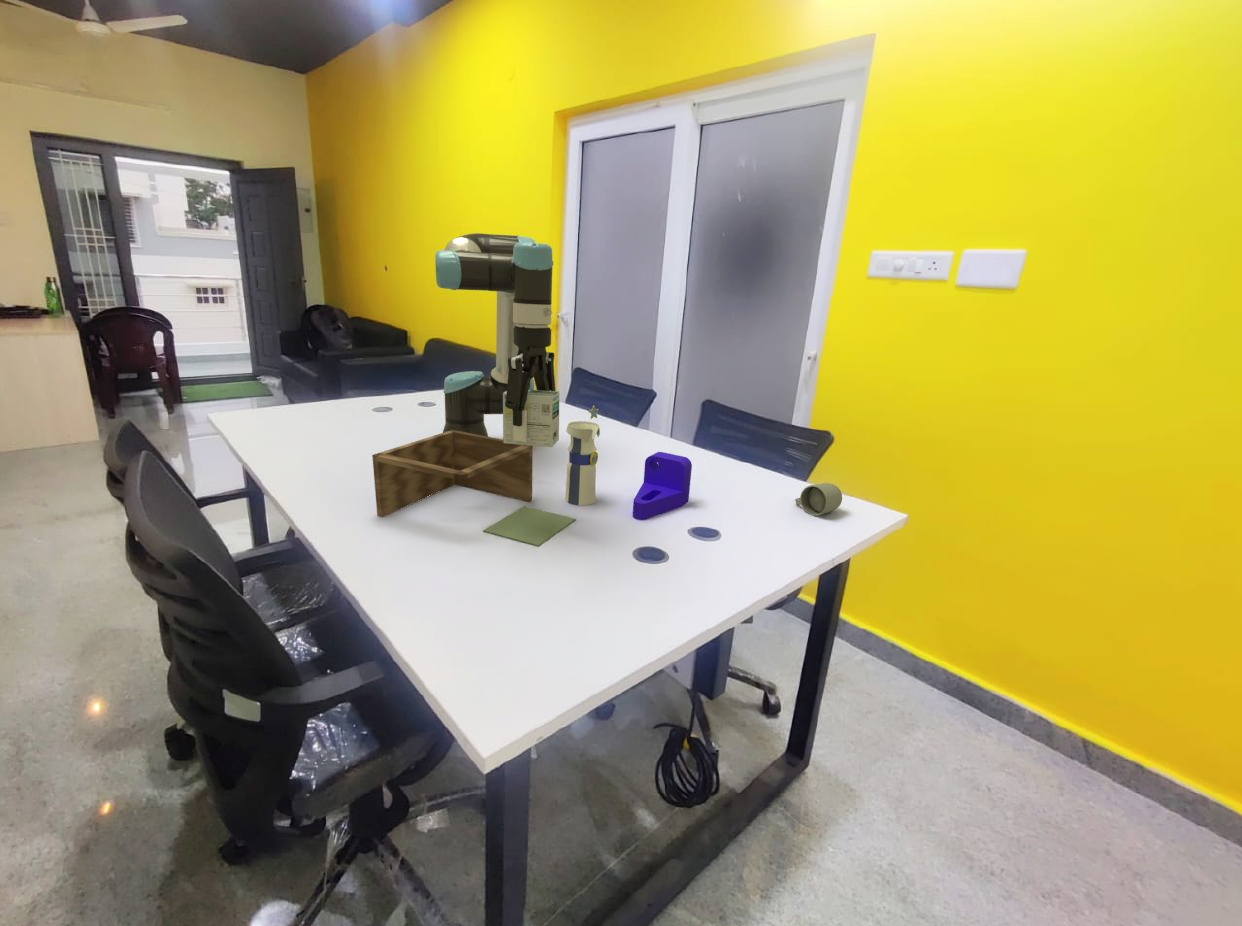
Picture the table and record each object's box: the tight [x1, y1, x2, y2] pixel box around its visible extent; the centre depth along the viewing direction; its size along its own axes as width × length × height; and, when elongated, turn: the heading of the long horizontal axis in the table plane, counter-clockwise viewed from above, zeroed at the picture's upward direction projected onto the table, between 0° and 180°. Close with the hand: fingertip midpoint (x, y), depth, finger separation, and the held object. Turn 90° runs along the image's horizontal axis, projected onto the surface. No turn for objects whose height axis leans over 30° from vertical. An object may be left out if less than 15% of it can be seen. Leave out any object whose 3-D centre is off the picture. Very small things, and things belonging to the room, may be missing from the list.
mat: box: [482, 505, 577, 548], centre depth 128 cm, size 16×14×1 cm
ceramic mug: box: [794, 482, 843, 517], centre depth 146 cm, size 11×8×8 cm
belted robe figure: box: [564, 405, 601, 507], centre depth 141 cm, size 8×9×25 cm
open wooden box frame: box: [372, 430, 534, 518], centre depth 134 cm, size 26×24×14 cm
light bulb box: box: [502, 389, 560, 448], centre depth 121 cm, size 11×7×11 cm, turn 84°
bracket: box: [632, 451, 693, 521], centre depth 141 cm, size 18×11×12 cm, turn 151°
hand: (531, 435), depth 122 cm, fingers closed on light bulb box, 8 cm apart
